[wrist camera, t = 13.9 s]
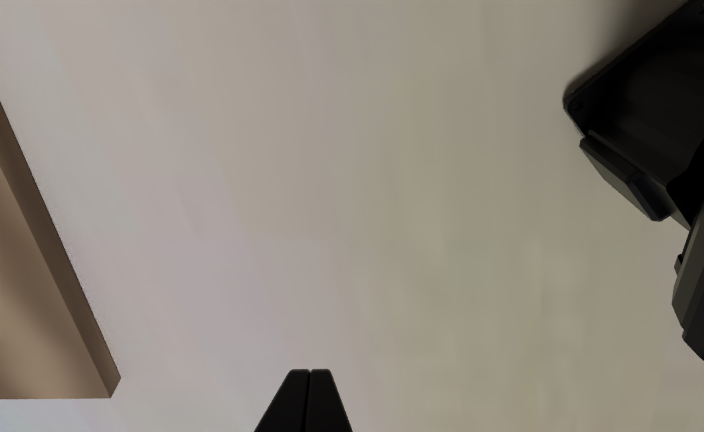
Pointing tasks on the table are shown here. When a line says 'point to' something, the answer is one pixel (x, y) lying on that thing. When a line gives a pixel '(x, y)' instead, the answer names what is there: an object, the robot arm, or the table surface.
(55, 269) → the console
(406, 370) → the table surface
